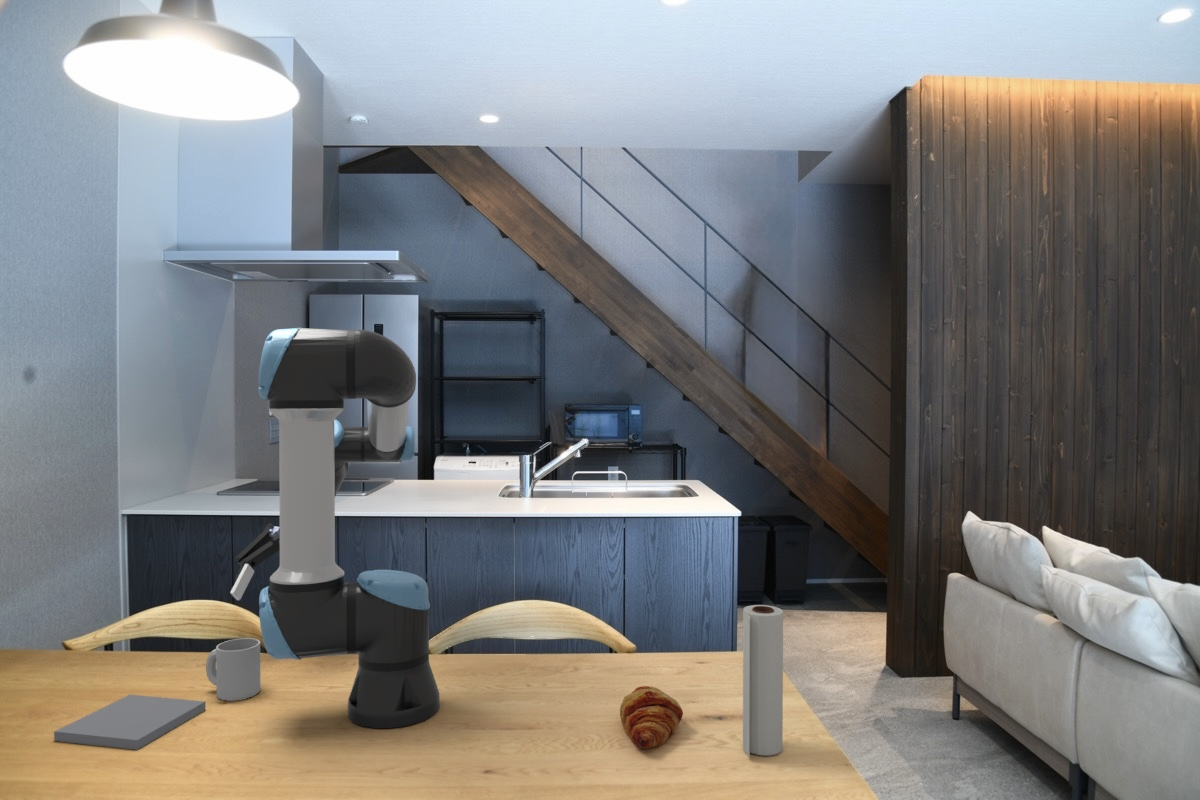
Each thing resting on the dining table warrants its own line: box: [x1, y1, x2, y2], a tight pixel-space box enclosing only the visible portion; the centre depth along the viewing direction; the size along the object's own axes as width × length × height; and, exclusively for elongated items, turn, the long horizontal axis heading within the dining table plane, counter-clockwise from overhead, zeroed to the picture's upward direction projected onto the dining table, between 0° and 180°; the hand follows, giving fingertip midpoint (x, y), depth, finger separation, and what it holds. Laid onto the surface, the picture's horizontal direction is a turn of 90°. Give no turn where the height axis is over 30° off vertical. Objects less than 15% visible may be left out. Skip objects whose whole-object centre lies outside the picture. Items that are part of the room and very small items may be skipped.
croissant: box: [619, 685, 684, 750], centre depth 128 cm, size 21×10×8 cm, turn 174°
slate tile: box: [53, 694, 207, 751], centre depth 129 cm, size 15×15×2 cm
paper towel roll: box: [742, 604, 784, 760], centre depth 120 cm, size 7×6×21 cm
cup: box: [205, 637, 262, 702], centre depth 142 cm, size 7×10×9 cm
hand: (266, 598), depth 152 cm, fingers open, 13 cm apart
